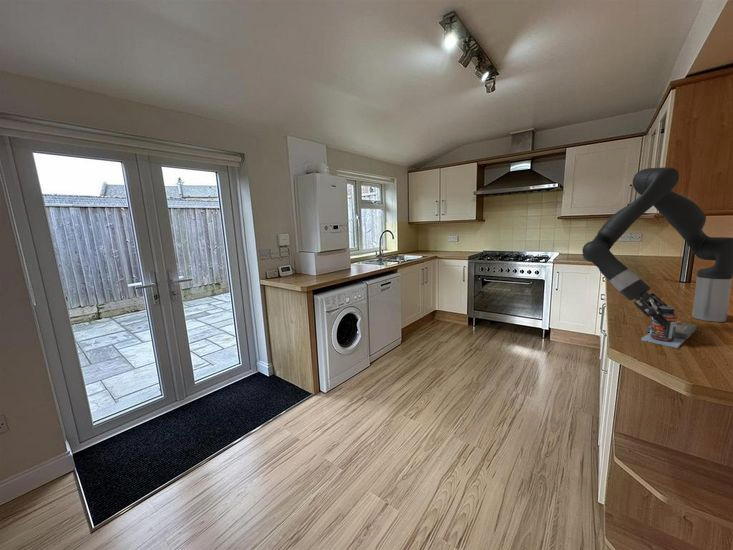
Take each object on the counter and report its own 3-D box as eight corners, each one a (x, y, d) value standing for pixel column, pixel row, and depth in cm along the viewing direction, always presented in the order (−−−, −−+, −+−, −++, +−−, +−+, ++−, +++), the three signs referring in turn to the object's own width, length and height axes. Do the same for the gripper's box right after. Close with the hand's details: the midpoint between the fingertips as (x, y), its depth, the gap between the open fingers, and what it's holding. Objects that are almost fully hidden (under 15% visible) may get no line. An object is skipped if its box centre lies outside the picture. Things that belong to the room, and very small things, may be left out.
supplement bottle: (645, 337, 103) (649, 306, 101) (655, 334, 105) (659, 303, 103) (668, 343, 98) (672, 310, 96) (678, 340, 100) (682, 308, 98)
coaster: (649, 334, 107) (649, 332, 107) (684, 341, 100) (684, 339, 100) (640, 340, 103) (641, 338, 102) (677, 348, 95) (677, 346, 95)
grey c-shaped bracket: (661, 322, 119) (662, 315, 119) (698, 328, 111) (699, 320, 110) (646, 332, 109) (647, 324, 109) (685, 340, 101) (686, 332, 100)
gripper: (632, 281, 100) (676, 321, 93) (646, 275, 108) (687, 312, 100) (612, 293, 106) (652, 332, 98) (626, 288, 113) (664, 323, 105)
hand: (670, 322), depth 99 cm, fingers open, 8 cm apart
